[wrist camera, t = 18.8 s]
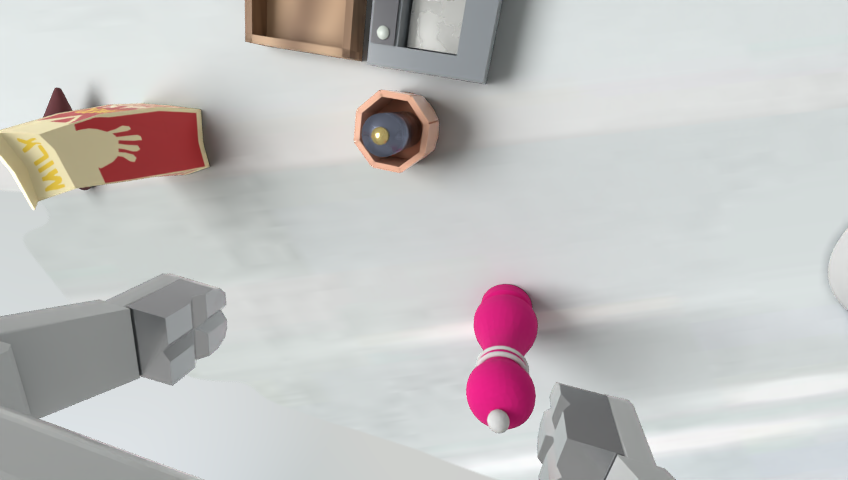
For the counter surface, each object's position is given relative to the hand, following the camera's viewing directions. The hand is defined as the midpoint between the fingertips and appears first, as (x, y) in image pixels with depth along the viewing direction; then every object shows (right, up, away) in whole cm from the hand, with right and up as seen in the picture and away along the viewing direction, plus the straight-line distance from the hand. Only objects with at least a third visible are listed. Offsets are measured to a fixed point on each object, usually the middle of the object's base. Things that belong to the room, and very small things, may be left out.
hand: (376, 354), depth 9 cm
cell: (-1, +15, +35) cm, 38 cm away
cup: (-1, +15, +35) cm, 38 cm away
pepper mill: (+12, -6, +40) cm, 42 cm away
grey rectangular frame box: (+3, +25, +31) cm, 40 cm away
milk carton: (-32, +16, +43) cm, 56 cm away
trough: (-11, +27, +33) cm, 44 cm away
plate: (+3, +25, +30) cm, 39 cm away
